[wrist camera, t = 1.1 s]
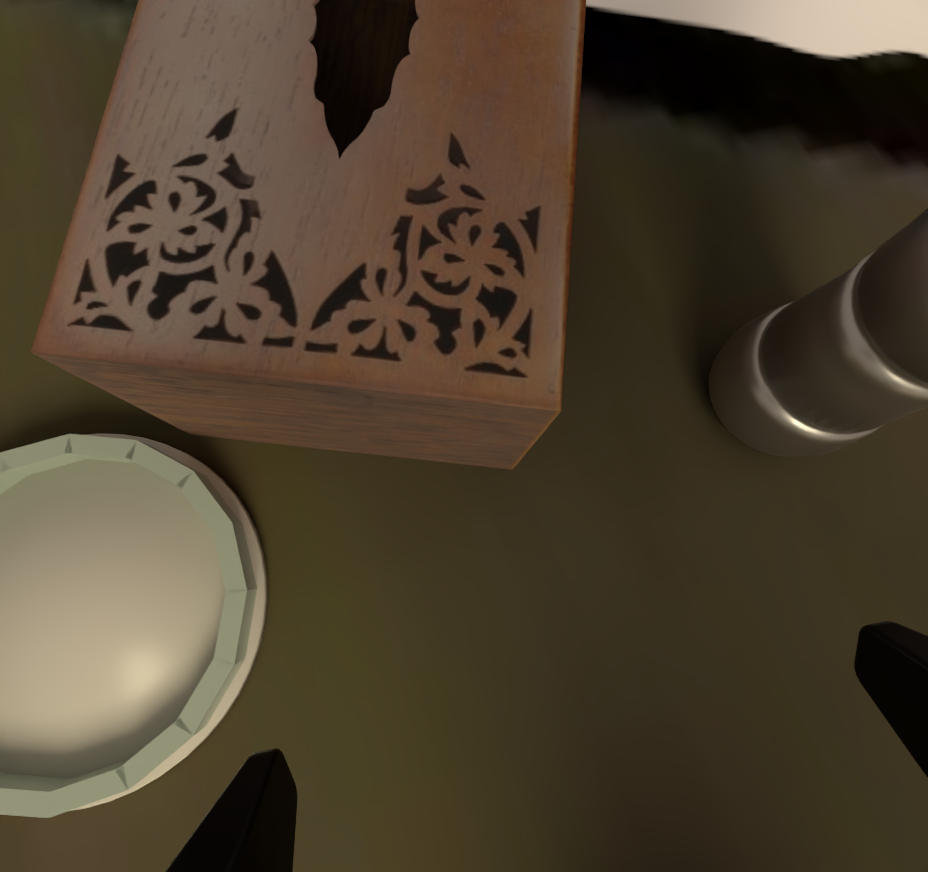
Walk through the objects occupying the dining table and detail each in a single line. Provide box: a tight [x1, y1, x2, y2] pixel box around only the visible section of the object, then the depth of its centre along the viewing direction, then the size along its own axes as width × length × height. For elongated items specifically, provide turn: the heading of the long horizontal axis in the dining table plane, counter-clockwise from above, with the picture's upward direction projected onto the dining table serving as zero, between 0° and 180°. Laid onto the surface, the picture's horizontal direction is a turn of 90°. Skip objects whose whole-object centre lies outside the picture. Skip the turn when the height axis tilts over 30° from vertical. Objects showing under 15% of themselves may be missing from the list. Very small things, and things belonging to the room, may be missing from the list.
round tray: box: [0, 433, 268, 818], centre depth 21 cm, size 14×14×2 cm
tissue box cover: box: [31, 0, 586, 470], centre depth 22 cm, size 26×14×10 cm, turn 174°
